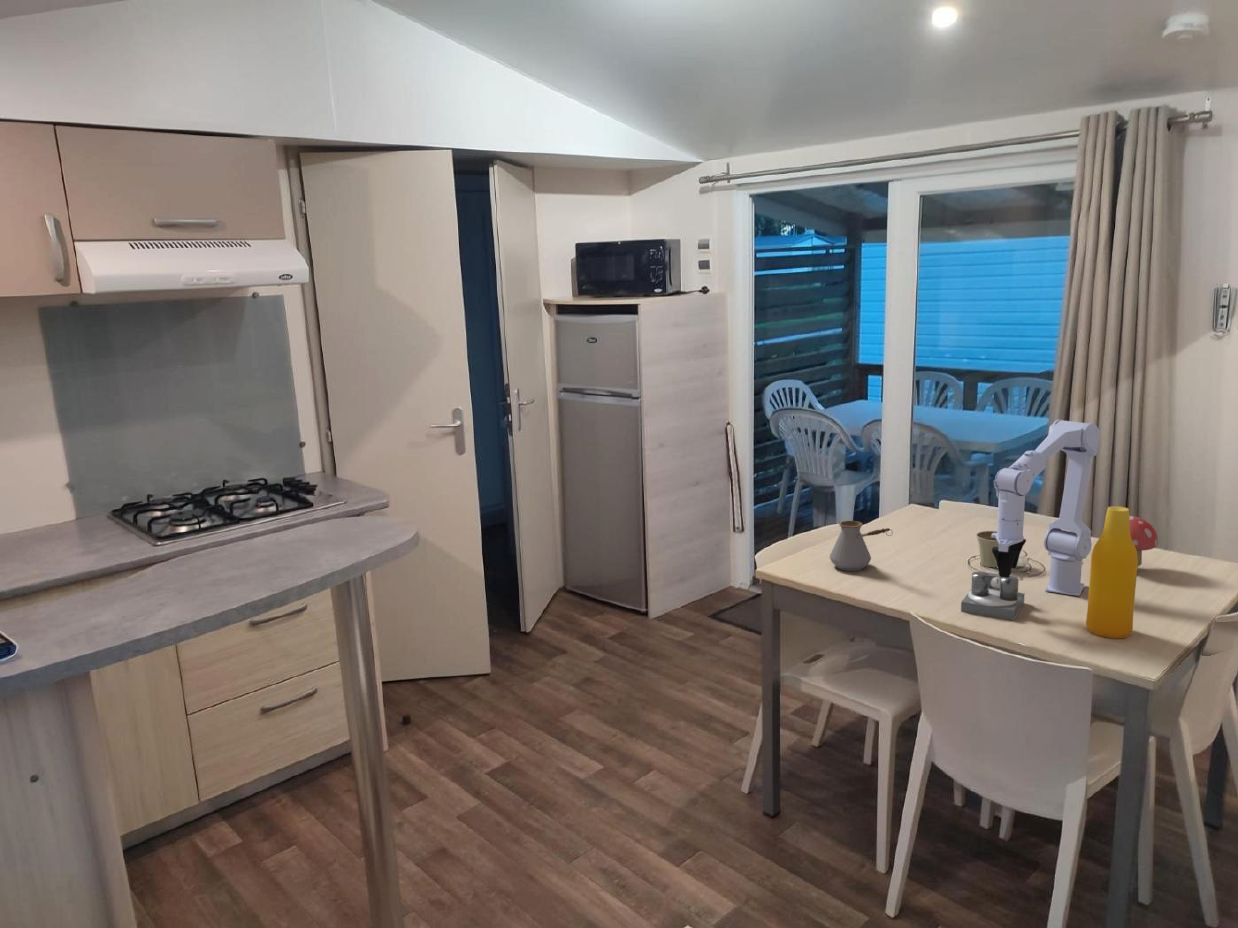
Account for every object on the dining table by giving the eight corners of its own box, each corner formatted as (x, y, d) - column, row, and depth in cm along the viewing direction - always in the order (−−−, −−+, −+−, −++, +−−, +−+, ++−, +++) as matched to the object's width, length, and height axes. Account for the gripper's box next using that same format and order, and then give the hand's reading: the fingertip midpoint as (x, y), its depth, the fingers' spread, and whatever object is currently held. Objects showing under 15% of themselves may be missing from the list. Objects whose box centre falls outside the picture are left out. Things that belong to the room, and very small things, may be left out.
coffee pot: (821, 564, 253) (821, 515, 250) (852, 557, 258) (852, 508, 255) (872, 586, 234) (874, 532, 231) (905, 578, 239) (906, 525, 236)
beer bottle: (1119, 642, 194) (1130, 516, 188) (1077, 630, 201) (1086, 508, 195) (1139, 631, 199) (1150, 508, 193) (1097, 620, 206) (1107, 501, 200)
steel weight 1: (971, 589, 219) (972, 571, 218) (989, 591, 218) (989, 572, 217) (970, 595, 216) (971, 576, 215) (988, 597, 214) (989, 577, 213)
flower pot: (1001, 572, 241) (1002, 542, 239) (968, 565, 248) (969, 536, 246) (1016, 564, 247) (1018, 535, 245) (984, 557, 254) (985, 528, 252)
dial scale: (973, 594, 225) (974, 570, 224) (1024, 602, 219) (1025, 578, 217) (960, 611, 215) (962, 586, 214) (1013, 620, 208) (1014, 594, 207)
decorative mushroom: (1096, 560, 247) (1100, 508, 244) (1151, 564, 242) (1155, 511, 239) (1101, 575, 235) (1105, 521, 232) (1159, 579, 230) (1164, 525, 227)
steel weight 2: (1000, 594, 216) (1001, 575, 215) (1017, 596, 214) (1018, 576, 213) (999, 599, 212) (1000, 580, 211) (1017, 601, 211) (1018, 582, 210)
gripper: (999, 509, 217) (996, 561, 220) (986, 523, 206) (983, 578, 209) (1030, 512, 213) (1027, 565, 216) (1018, 527, 202) (1015, 583, 205)
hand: (1007, 572), depth 212 cm, fingers open, 7 cm apart
